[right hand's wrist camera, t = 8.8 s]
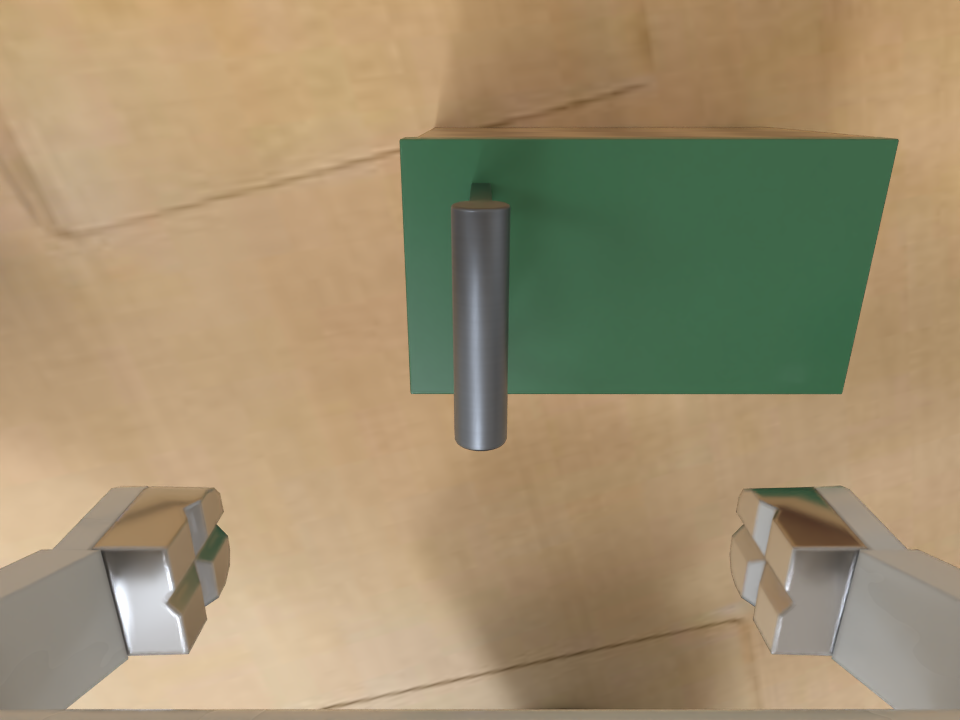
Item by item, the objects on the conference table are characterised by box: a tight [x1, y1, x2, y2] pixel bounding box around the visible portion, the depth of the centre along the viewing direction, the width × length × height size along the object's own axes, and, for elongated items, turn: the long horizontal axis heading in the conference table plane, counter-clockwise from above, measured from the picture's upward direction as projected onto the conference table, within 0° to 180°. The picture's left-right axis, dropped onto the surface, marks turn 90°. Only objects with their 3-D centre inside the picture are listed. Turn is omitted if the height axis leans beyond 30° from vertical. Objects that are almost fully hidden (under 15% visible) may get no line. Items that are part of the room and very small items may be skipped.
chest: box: [419, 128, 870, 137], centre depth 31 cm, size 17×10×10 cm, turn 90°
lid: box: [400, 137, 899, 451], centre depth 22 cm, size 18×10×8 cm, turn 90°
